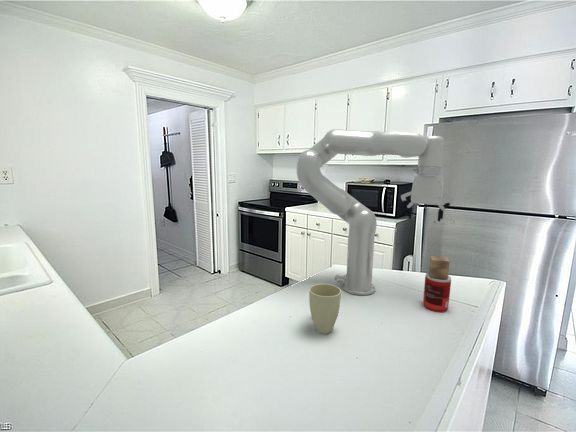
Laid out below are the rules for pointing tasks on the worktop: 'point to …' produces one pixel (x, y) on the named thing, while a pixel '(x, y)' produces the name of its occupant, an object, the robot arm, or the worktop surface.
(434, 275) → the walnut block
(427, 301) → the canned food
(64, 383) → the worktop surface
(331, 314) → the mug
